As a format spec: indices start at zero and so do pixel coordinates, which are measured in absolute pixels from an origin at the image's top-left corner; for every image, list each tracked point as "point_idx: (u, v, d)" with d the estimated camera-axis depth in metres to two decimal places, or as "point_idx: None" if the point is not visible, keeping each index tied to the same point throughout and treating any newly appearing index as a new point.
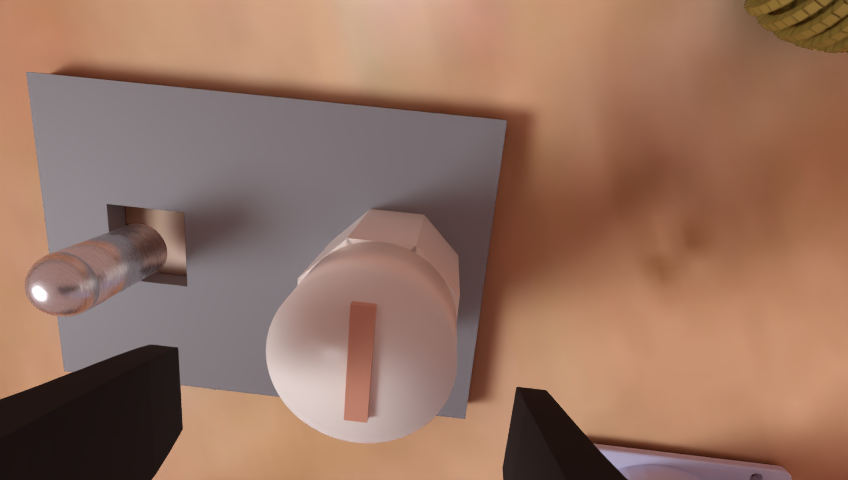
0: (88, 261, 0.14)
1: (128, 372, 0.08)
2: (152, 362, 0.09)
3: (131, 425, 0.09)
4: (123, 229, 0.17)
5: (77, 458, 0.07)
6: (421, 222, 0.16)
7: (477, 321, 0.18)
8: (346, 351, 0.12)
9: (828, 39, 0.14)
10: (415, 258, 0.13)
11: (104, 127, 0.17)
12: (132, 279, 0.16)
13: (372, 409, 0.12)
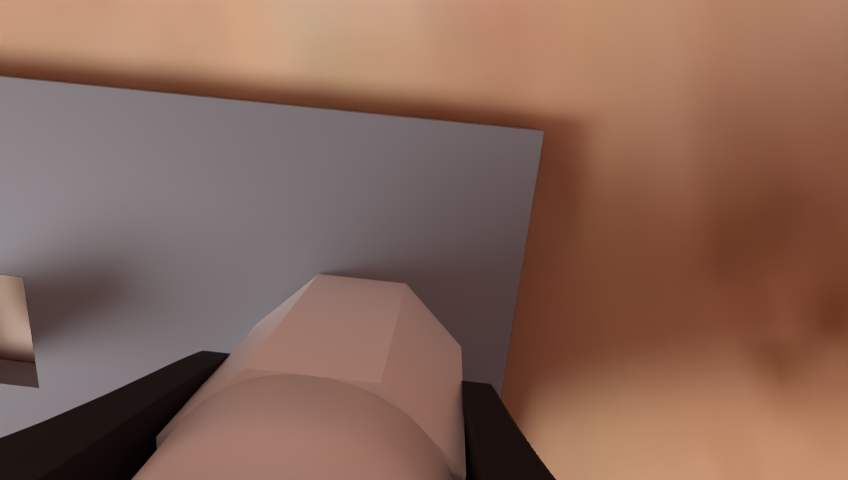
0: None
1: (190, 379, 0.08)
2: (210, 369, 0.09)
3: None
4: None
5: None
6: (399, 305, 0.10)
7: None
8: None
9: None
10: (376, 417, 0.07)
11: None
12: None
13: None
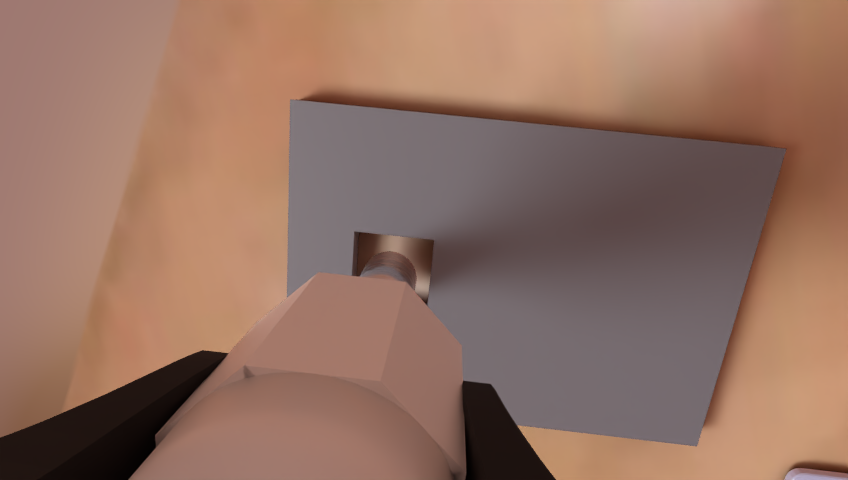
0: None
1: (190, 379, 0.08)
2: (210, 369, 0.09)
3: None
4: (388, 259, 0.17)
5: None
6: (399, 303, 0.10)
7: (724, 349, 0.18)
8: None
9: None
10: (376, 415, 0.06)
11: (363, 155, 0.17)
12: None
13: None
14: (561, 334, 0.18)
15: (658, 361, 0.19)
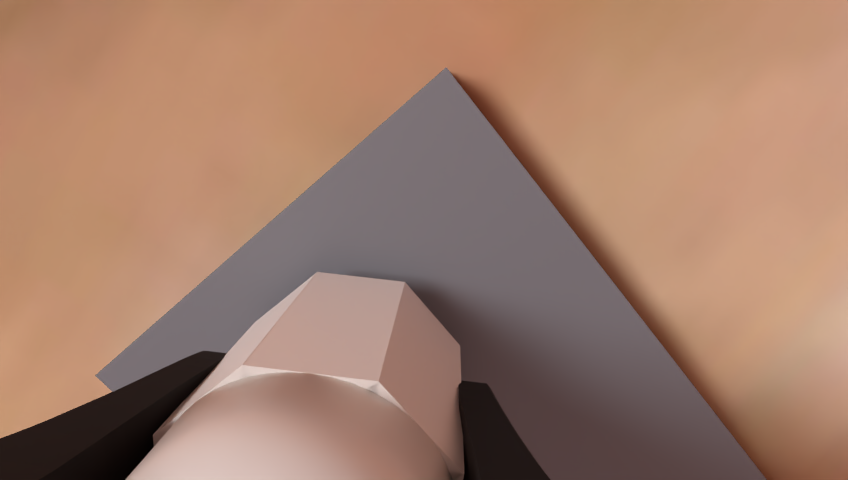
0: None
1: (191, 379, 0.08)
2: (211, 369, 0.09)
3: None
4: None
5: None
6: (397, 303, 0.10)
7: None
8: None
9: None
10: (374, 415, 0.06)
11: (463, 212, 0.11)
12: None
13: None
14: None
15: None
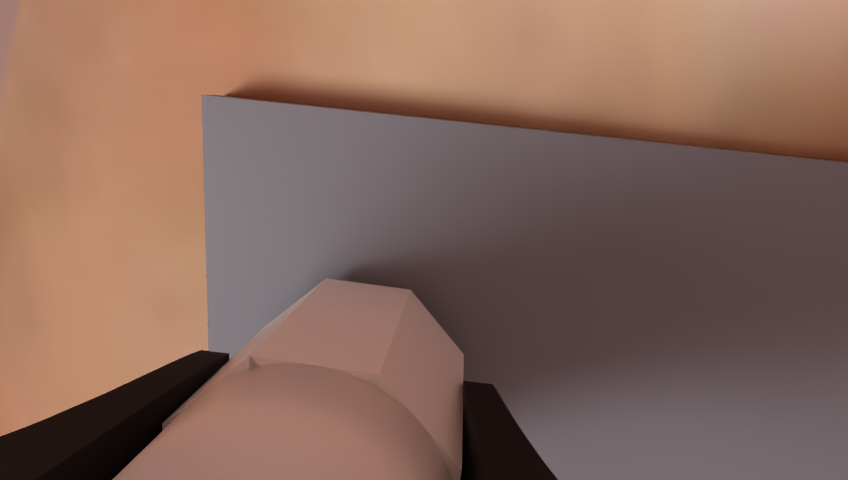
0: None
1: (188, 379, 0.08)
2: (208, 369, 0.09)
3: None
4: None
5: None
6: (308, 296, 0.10)
7: None
8: None
9: None
10: (248, 380, 0.07)
11: (317, 181, 0.11)
12: None
13: None
14: (614, 445, 0.12)
15: None
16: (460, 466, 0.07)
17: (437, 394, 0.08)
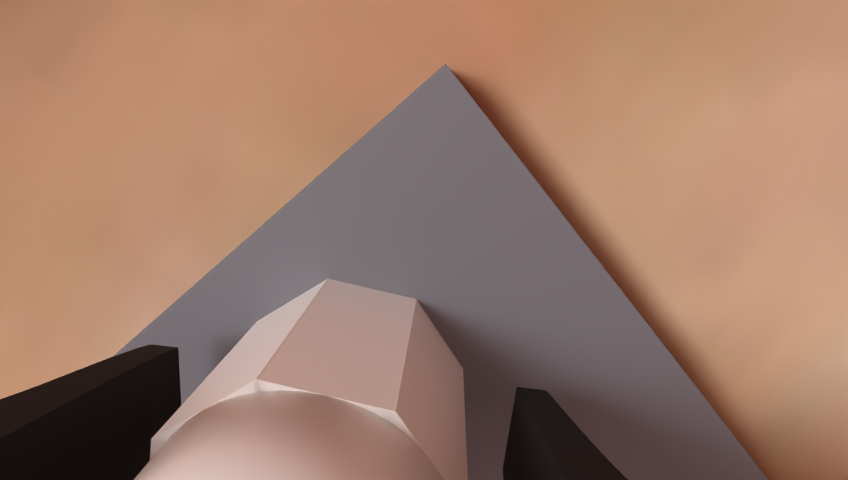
0: None
1: (128, 372, 0.08)
2: (152, 362, 0.09)
3: (131, 425, 0.09)
4: None
5: (77, 458, 0.07)
6: (311, 301, 0.09)
7: None
8: None
9: None
10: (255, 411, 0.06)
11: (465, 222, 0.10)
12: None
13: None
14: None
15: None
16: None
17: (444, 423, 0.08)
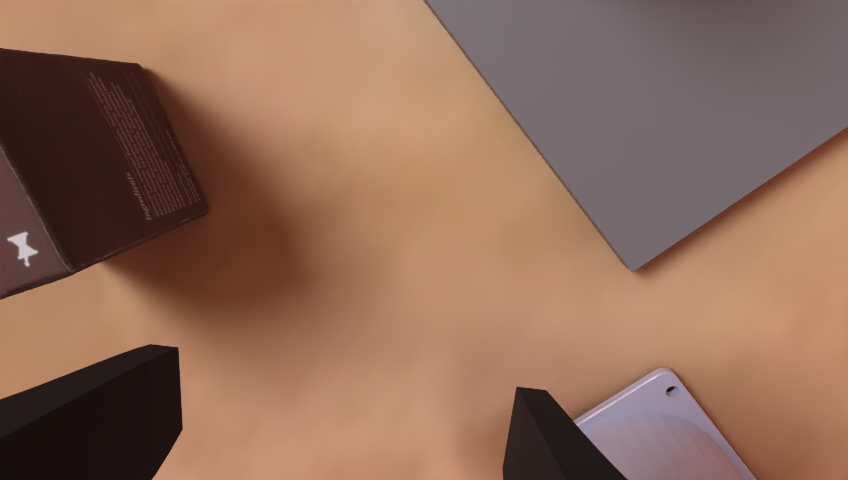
0: None
1: (128, 372, 0.08)
2: (152, 362, 0.09)
3: (131, 425, 0.09)
4: None
5: (77, 458, 0.07)
6: None
7: (740, 197, 0.17)
8: None
9: None
10: None
11: None
12: None
13: None
14: (638, 54, 0.16)
15: (684, 160, 0.16)
16: None
17: None
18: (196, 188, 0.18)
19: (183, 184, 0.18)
